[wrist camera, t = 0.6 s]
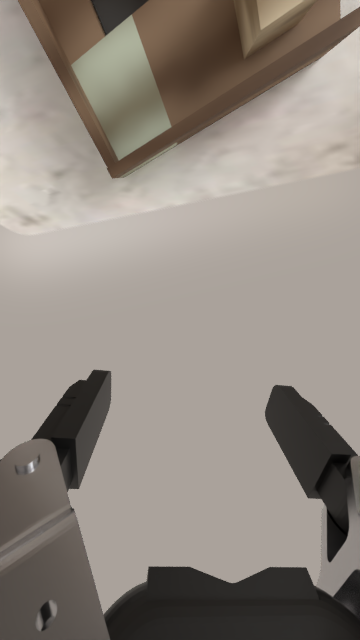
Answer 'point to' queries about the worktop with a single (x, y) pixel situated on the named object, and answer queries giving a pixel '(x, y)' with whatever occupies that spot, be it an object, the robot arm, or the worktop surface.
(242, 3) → the maple block
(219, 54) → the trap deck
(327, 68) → the worktop surface
